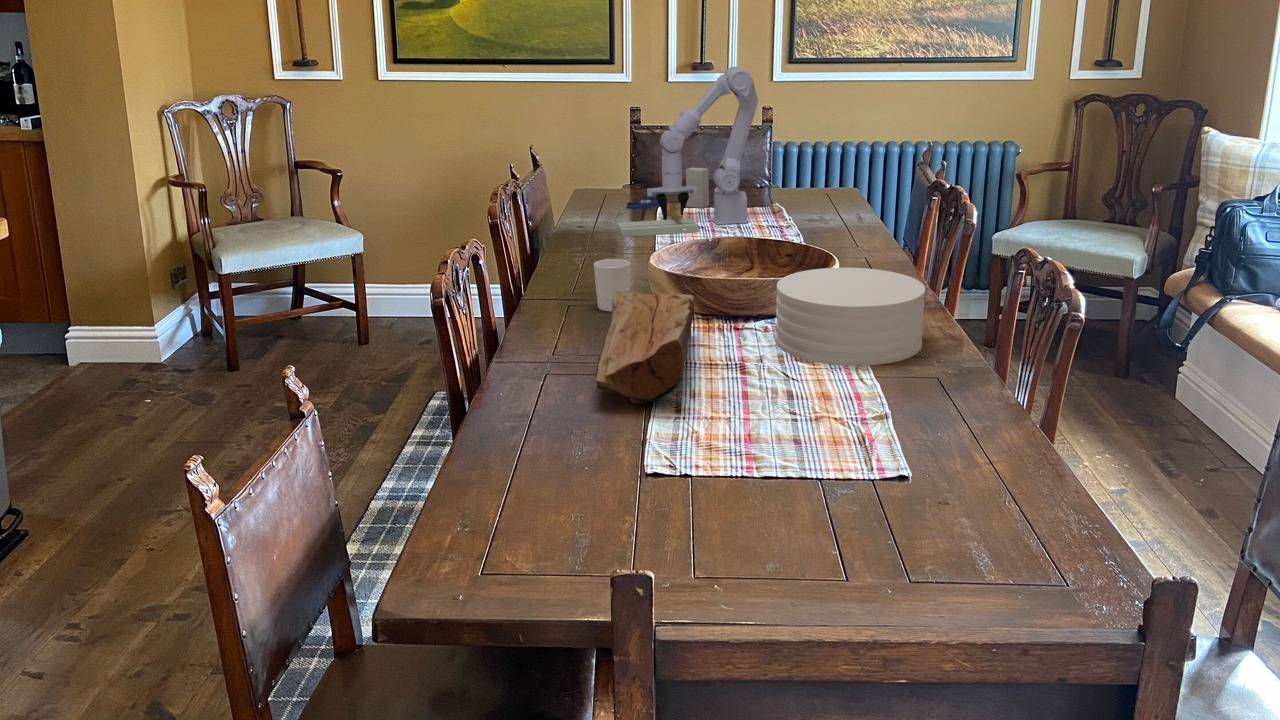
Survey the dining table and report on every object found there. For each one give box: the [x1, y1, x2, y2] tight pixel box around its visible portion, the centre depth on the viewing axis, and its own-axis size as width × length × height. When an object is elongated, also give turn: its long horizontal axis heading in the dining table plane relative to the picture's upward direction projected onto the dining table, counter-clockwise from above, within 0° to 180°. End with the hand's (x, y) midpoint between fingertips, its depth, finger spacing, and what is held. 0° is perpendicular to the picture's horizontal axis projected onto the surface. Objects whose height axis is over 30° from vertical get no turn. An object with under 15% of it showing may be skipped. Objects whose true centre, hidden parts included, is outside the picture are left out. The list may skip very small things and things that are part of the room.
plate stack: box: [775, 267, 926, 367], centre depth 208 cm, size 28×28×12 cm
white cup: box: [593, 258, 631, 313], centre depth 235 cm, size 8×8×10 cm
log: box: [595, 290, 695, 404], centre depth 196 cm, size 42×18×15 cm, turn 174°
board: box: [616, 218, 700, 238], centre depth 308 cm, size 22×10×2 cm, turn 100°
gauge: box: [666, 200, 684, 220], centre depth 311 cm, size 4×12×6 cm, turn 10°
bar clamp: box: [625, 196, 660, 221], centre depth 334 cm, size 32×2×10 cm
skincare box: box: [685, 167, 710, 209], centre depth 339 cm, size 6×4×12 cm
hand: (672, 219), depth 316 cm, fingers closed on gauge, 4 cm apart
